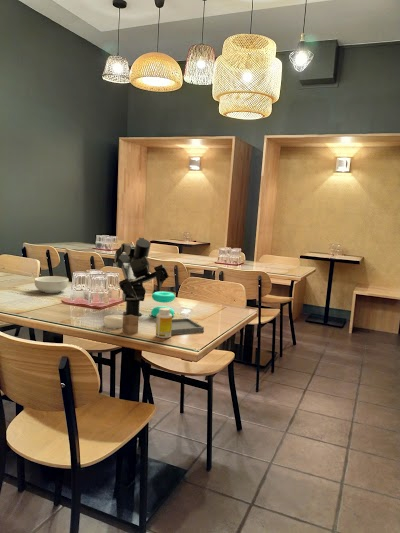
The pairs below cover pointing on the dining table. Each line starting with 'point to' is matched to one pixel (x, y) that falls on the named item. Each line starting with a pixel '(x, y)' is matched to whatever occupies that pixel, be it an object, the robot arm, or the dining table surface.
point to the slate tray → (185, 326)
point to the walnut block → (130, 324)
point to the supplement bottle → (164, 323)
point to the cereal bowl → (51, 283)
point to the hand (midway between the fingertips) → (148, 294)
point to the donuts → (163, 298)
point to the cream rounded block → (113, 321)
